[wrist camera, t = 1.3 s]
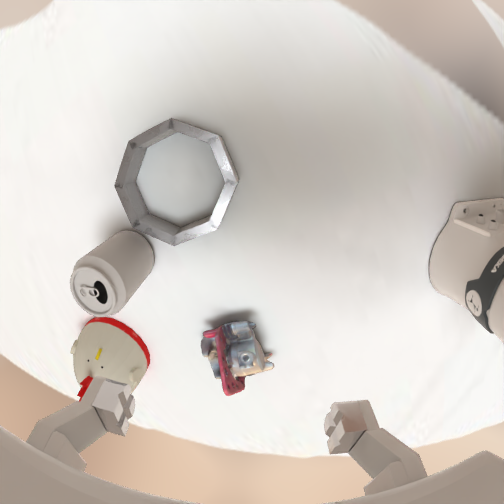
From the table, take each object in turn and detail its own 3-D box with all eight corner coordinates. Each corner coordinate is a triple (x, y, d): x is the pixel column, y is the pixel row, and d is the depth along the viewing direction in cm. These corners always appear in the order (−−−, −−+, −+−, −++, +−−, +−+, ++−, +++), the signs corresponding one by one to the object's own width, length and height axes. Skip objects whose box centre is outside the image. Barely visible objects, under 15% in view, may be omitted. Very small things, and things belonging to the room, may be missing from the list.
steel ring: (210, 107, 30) (204, 102, 26) (251, 210, 34) (250, 216, 31) (116, 155, 32) (102, 156, 28) (156, 247, 36) (147, 257, 33)
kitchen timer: (154, 335, 42) (122, 402, 28) (146, 383, 47) (123, 442, 33) (83, 305, 40) (37, 358, 26) (86, 356, 45) (53, 407, 31)
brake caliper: (176, 331, 38) (212, 369, 28) (235, 295, 43) (284, 318, 34) (206, 381, 42) (245, 422, 32) (256, 347, 47) (302, 376, 37)
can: (158, 279, 38) (124, 328, 27) (113, 274, 38) (72, 317, 27) (155, 229, 35) (114, 265, 24) (108, 227, 35) (59, 258, 24)
